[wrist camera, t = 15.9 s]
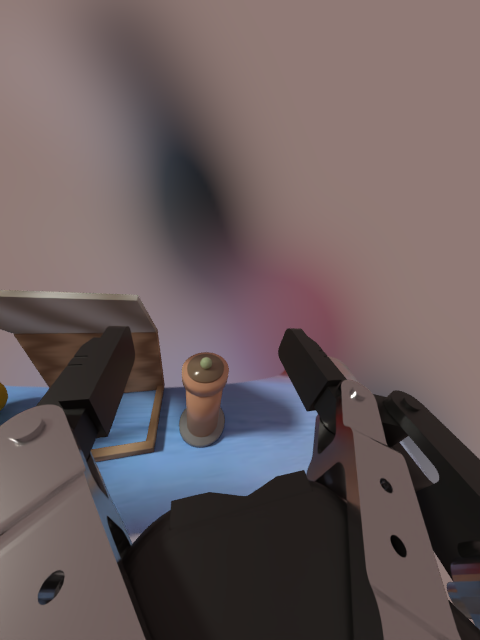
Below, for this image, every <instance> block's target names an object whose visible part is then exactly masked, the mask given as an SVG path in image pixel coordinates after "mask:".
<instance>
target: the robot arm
mask: <svg viewBox="0 0 480 640" xmlns="http://www.w3.org/2000/svg"><path fill="white" fill-rule="evenodd" d="M278 354H279V358H280V361H281V362H282V364H283V366H284V368H285V370H286V372H287V374H288V376H289V378H290V380H291V382H292V384H293V386H294V387H295V389H296V391H297V393H298V395H299V397H300V399H301V401H302V403H303V405H304V407H305V409H306V411H314V410H316V411H317V413H318V415H317V416H316V422H315V433H314V444H313V455H312V460H311V462H310V465H309V467H308V470H307V474H305V471H304V470H303V471H298V472H294V473H290V474H285V475H281V476H277V477H275V478H274V479H272V480H271V481H269V482H268V483H266V484H265V485H263V486H262V487H260V488H259V489H257V490H256V491H254V492H253V493H252V494H250V495H248V496H237V495H228V494H220V493H212V492H208V493H204V494H199V495H195V496H191V497H187V498H182V499H178V500H174V501H171V510H170V511H168V512H167V513H165V514H164V515H162V516H161V517H159V518H158V519H157V520H156V521H154V522H153V523H152V524H151V525H150V526H149V527H148V528H147V529H146V530H145V531H144V532H143V533H142V534H141V535H140V536H139V537H138V538H137V539H136V541H135V542H134V543H133V544H132V542H131V540H130V537H129V535H128V533H127V530H126V528H125V526H124V523H123V521H122V519H121V517H120V515H119V513H118V511H117V509H116V507H115V505H114V504H113V502H112V499H111V497H110V495H109V493H108V490H107V488H106V486H105V483H104V481H103V478H102V476H101V474H100V471H99V469H98V467H97V464H96V462H95V460H94V457H93V455H92V453H91V449H92V446H93V444H94V441H95V439H96V438H100V437H108V434H109V432H110V429H111V426H112V423H113V421H114V418H115V415H116V412H117V409H118V407H119V404H120V401H121V398H122V395H123V393H124V390H125V387H126V384H127V381H128V379H129V376H130V373H131V370H132V367H133V365H134V361H135V349H134V344H133V339H132V335H131V330H130V327H129V326H108V327H107V328H106V330H105V331H104V333H103V334H102V336H101V337H93V338H92V339H90V340H89V341H88V342H86V343H85V344H83V345H82V346H81V347H80V348H79V350H78V351H77V352H76V354H75V355H74V358H72V359H71V360H70V362H69V363H68V364H67V367H65V368H64V370H63V371H62V372H61V374H60V375H59V376H58V378H57V379H56V380H55V382H54V383H53V384H52V386H51V387H50V388H49V390H48V391H47V392H46V394H45V395H44V396H43V398H42V399H41V401H40V402H39V403H38V404H37V406H36V407H33V408H30V409H28V410H25V411H23V412H21V413H19V414H17V415H15V416H14V417H12V418H10V419H9V420H8V421H6V422H5V423H4V424H2V425H1V426H0V640H480V460H479V458H477V456H475V455H474V454H473V453H472V452H471V451H470V450H469V449H468V448H467V447H466V446H465V445H464V444H463V443H462V442H461V441H460V440H459V439H458V438H457V437H456V436H455V435H454V434H453V433H452V432H451V431H450V430H449V429H447V428H446V427H445V426H444V425H443V424H442V423H441V422H440V421H439V420H438V419H437V418H436V417H435V416H434V415H433V414H432V413H431V412H430V411H429V410H428V409H427V408H426V407H425V406H424V405H423V404H421V403H420V402H419V401H418V400H417V399H415V398H414V397H412V396H411V395H409V394H407V393H404V392H402V391H393V392H392V393H391V394H390V395H388V397H383V396H379V395H374V394H372V393H371V392H370V391H369V390H368V389H367V388H366V387H365V386H363V385H362V384H360V383H358V382H356V381H353V380H347V379H346V378H345V377H344V375H343V374H342V373H341V372H340V371H339V369H338V368H337V367H336V366H335V365H334V363H333V362H332V361H331V360H330V358H329V357H327V355H326V354H325V353H324V352H323V350H322V349H321V348H320V347H319V345H318V344H317V343H316V342H315V341H313V340H312V339H311V338H309V337H308V336H307V335H306V334H305V333H304V331H303V330H302V329H287V330H286V331H285V334H284V336H283V339H282V341H281V344H280V347H279V350H278ZM407 436H409V437H410V438H411V439H412V440H413V441H414V443H415V444H416V445H417V446H418V447H419V448H420V450H421V451H422V452H423V453H424V454H425V455H426V457H427V458H428V459H429V460H430V461H431V463H432V464H433V465H434V466H435V468H436V469H437V471H438V473H439V481H438V482H437V483H435V484H433V483H432V482H431V481H430V480H429V479H428V478H427V477H426V476H425V475H424V473H423V472H422V471H421V469H420V468H419V467H418V466H417V464H416V463H415V462H414V460H413V459H412V458H411V457H410V455H409V454H408V453H407V452H406V450H405V449H404V448H403V446H402V445H401V444H400V443H399V442H400V441H402V440H403V439H404V438H406V437H407ZM433 551H434V552H435V554H436V555H437V557H438V558H439V560H440V561H441V563H442V564H443V566H444V568H445V569H446V571H447V572H448V574H449V575H450V577H451V579H452V580H453V582H449V583H448V584H447V591H448V594H449V597H450V599H451V601H452V602H453V604H454V605H455V606H454V605H453V604H452V603H451V602H450V601H449V600H448V598H447V595H446V592H445V589H444V585H443V582H442V579H441V576H440V572H439V569H438V566H437V563H436V559H435V556H434V552H433ZM469 619H473V621H474V624H475V625H474V624H473V623H472V622H471V621H470V620H469Z"/></svg>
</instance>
